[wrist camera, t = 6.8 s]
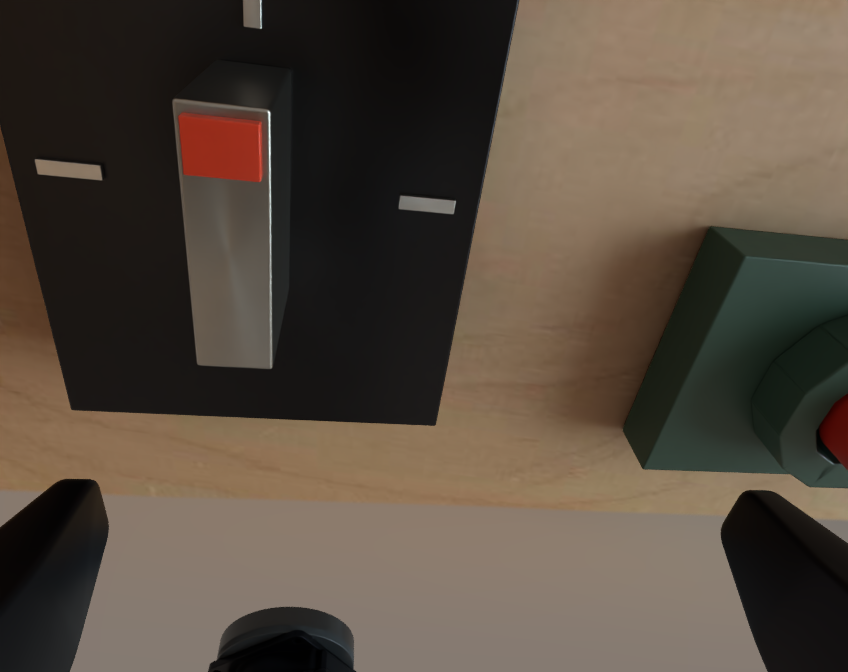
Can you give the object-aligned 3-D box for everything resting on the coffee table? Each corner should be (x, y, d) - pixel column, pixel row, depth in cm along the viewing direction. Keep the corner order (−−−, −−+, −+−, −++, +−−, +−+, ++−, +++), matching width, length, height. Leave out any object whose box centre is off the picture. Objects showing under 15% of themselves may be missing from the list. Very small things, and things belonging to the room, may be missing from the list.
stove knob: (289, 288, 16) (270, 377, 13) (227, 284, 16) (193, 373, 13) (291, 68, 13) (268, 113, 10) (214, 58, 13) (166, 101, 10)
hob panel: (427, 370, 22) (436, 430, 19) (106, 351, 20) (68, 414, 18) (519, -155, 14) (556, -176, 11) (-12, -257, 12) (-117, -309, 9)
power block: (621, 429, 24) (661, 507, 21) (709, 225, 19) (780, 286, 16) (878, 440, 26) (953, 514, 23) (1019, 256, 21) (1140, 316, 18)
